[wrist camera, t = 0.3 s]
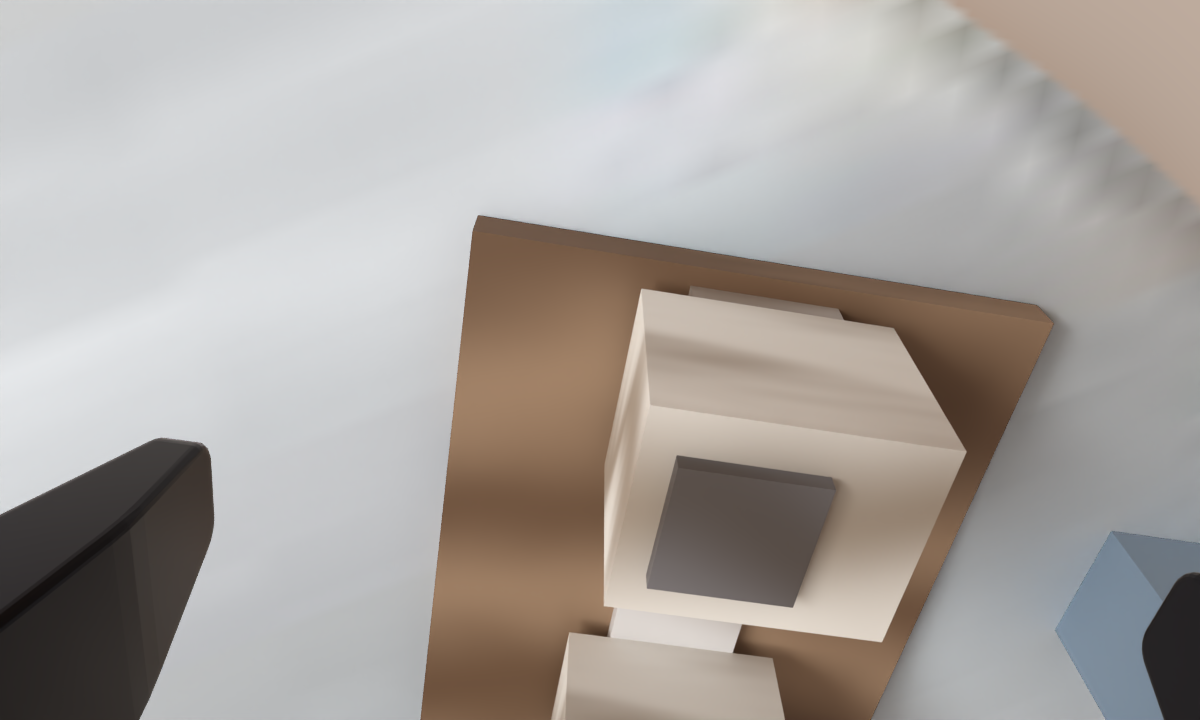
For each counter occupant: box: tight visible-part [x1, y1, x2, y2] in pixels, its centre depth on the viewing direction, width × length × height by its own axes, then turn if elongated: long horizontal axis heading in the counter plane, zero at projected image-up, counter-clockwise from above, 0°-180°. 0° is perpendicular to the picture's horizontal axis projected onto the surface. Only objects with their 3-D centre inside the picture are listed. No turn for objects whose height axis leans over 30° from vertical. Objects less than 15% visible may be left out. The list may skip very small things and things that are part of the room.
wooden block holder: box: [421, 215, 1054, 720], centre depth 23 cm, size 17×14×7 cm
